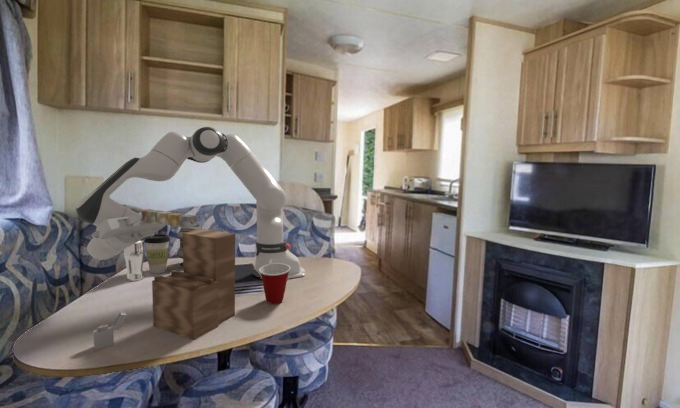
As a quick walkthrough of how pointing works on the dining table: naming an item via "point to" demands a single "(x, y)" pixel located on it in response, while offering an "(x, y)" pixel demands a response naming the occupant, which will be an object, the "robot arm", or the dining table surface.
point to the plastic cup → (274, 281)
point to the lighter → (107, 333)
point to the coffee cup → (157, 252)
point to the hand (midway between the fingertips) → (149, 213)
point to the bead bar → (169, 218)
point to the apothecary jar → (180, 236)
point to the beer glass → (134, 261)
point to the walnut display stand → (197, 286)
